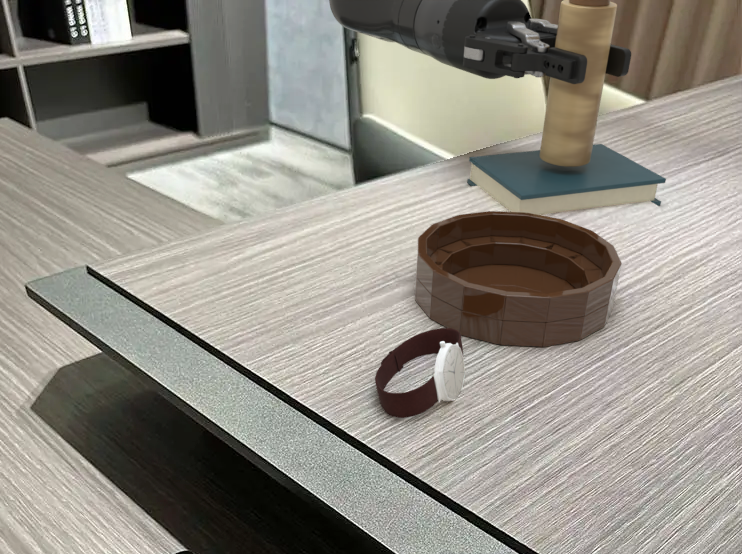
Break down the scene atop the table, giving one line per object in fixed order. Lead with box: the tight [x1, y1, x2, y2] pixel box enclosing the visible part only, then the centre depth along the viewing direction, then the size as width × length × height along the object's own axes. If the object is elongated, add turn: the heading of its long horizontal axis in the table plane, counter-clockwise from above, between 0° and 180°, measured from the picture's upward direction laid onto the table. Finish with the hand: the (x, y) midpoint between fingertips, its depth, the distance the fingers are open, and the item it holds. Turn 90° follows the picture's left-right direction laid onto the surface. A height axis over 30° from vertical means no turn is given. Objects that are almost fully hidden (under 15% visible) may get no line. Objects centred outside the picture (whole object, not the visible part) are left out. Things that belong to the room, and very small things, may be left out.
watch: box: [374, 327, 466, 419], centre depth 46 cm, size 8×5×4 cm, turn 153°
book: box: [466, 143, 667, 216], centre depth 73 cm, size 14×10×2 cm
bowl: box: [414, 210, 623, 348], centre depth 55 cm, size 13×13×4 cm
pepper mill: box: [539, 0, 618, 167], centre depth 69 cm, size 4×4×15 cm
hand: (604, 67), depth 66 cm, fingers closed on pepper mill, 4 cm apart
